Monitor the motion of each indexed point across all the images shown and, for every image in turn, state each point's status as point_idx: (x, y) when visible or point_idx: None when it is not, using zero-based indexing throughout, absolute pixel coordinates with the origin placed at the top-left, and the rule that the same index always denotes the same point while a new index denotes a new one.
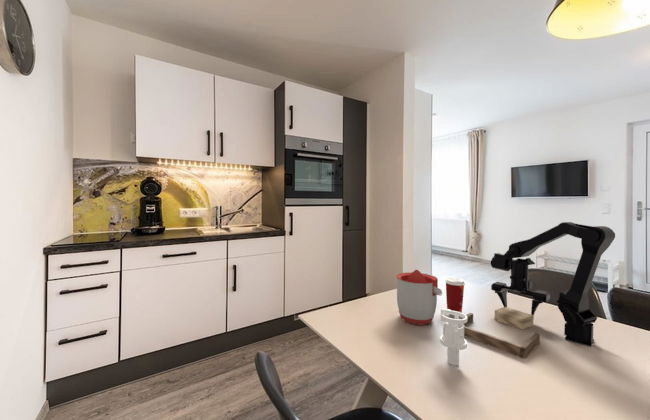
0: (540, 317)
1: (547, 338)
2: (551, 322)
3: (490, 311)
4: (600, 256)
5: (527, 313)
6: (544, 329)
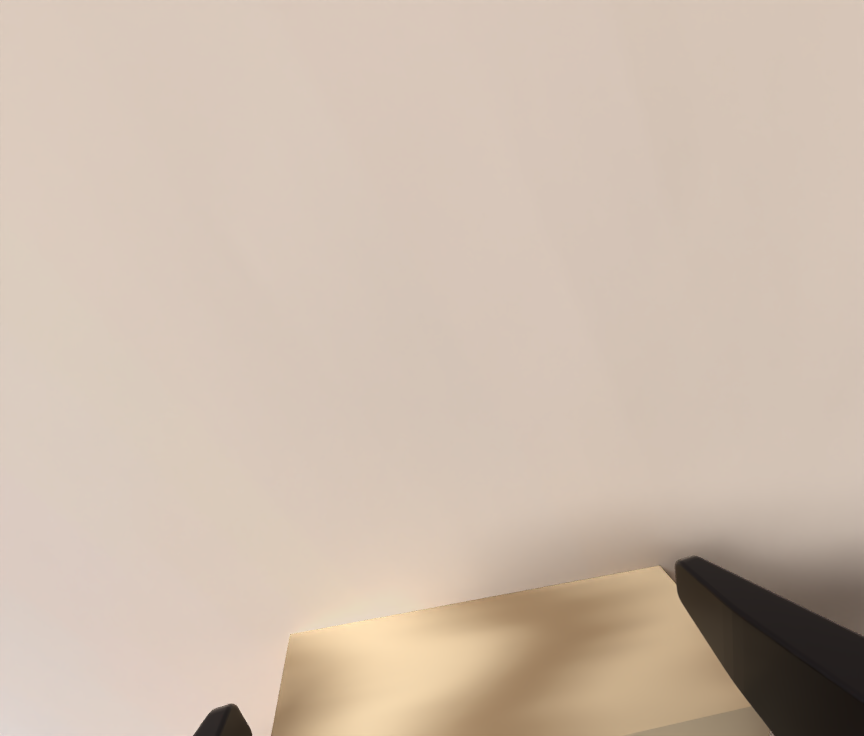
0: (598, 150)
1: None
2: (786, 224)
3: (70, 714)
4: None
5: (678, 720)
6: (782, 564)
